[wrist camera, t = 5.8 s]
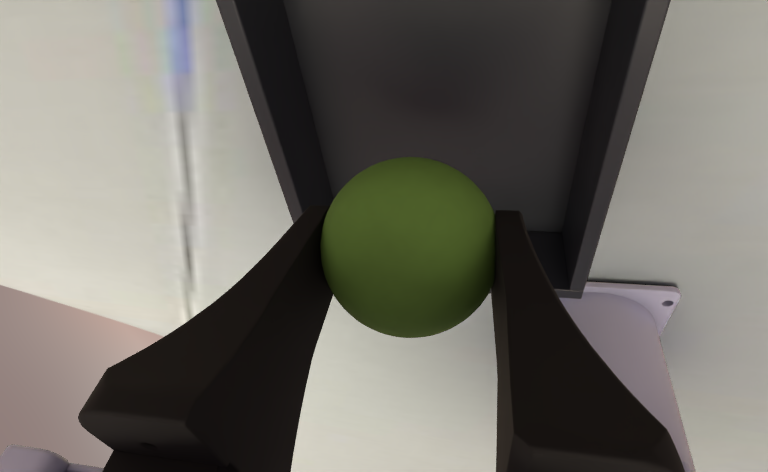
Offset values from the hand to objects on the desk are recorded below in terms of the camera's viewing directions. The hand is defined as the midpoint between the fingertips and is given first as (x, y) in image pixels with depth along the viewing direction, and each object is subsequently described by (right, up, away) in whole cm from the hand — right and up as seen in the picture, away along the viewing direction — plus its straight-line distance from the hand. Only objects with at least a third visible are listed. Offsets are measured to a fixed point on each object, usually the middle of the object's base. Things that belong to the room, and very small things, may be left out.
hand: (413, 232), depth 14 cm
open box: (+2, +6, +5) cm, 8 cm away
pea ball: (0, +1, +1) cm, 2 cm away
